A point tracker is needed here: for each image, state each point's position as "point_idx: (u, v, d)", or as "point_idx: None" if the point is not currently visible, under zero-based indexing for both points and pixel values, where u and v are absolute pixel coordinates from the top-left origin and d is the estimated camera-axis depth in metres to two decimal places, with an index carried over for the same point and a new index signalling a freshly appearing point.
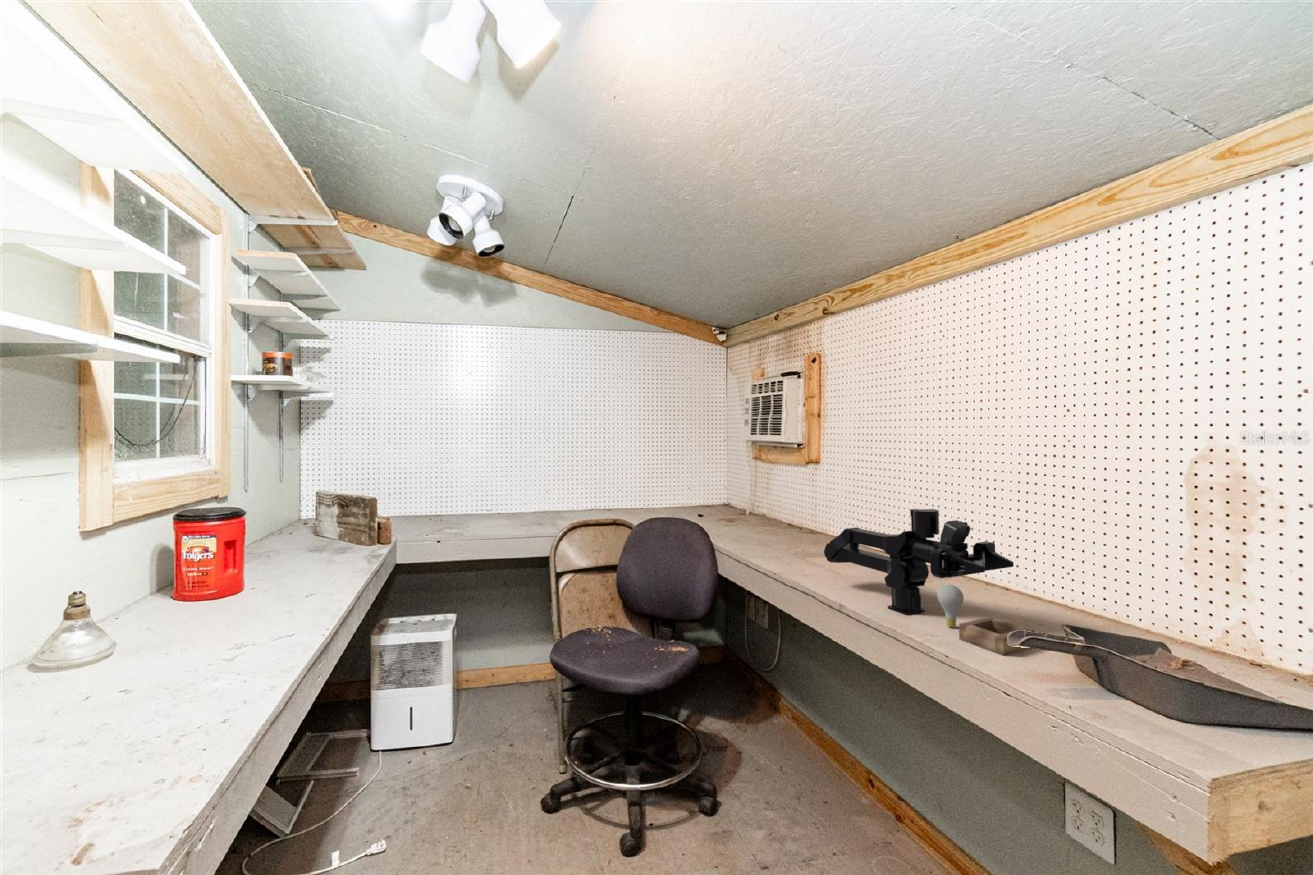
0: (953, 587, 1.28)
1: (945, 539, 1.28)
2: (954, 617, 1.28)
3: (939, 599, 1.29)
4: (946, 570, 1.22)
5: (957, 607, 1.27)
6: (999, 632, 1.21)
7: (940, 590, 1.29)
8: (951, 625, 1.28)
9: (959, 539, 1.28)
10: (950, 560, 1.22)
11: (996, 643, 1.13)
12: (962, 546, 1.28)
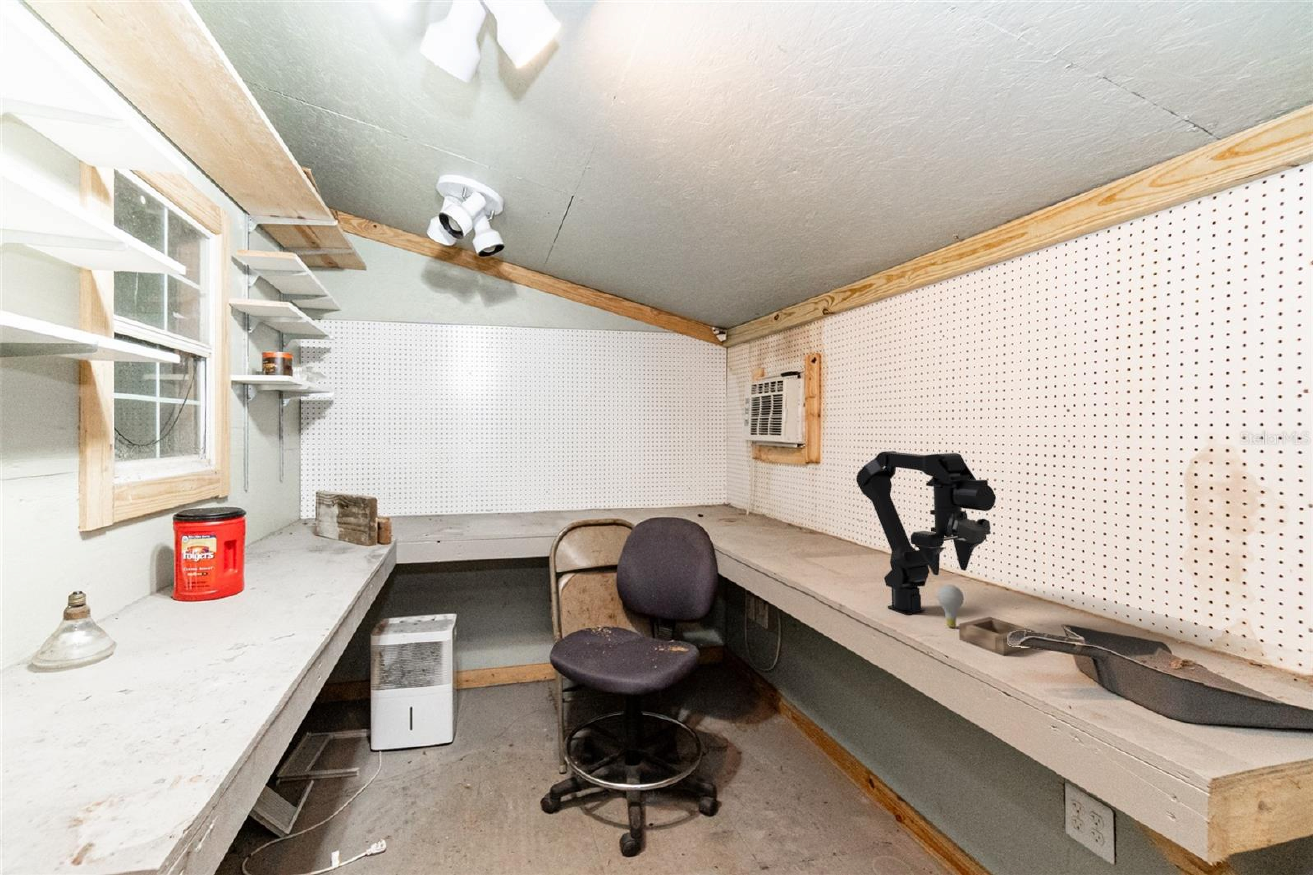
0: (953, 587, 1.28)
1: (957, 529, 1.24)
2: (954, 617, 1.28)
3: (939, 599, 1.29)
4: (920, 547, 1.27)
5: (957, 607, 1.27)
6: (999, 632, 1.21)
7: (940, 590, 1.29)
8: (951, 625, 1.28)
9: None
10: None
11: (996, 643, 1.13)
12: None
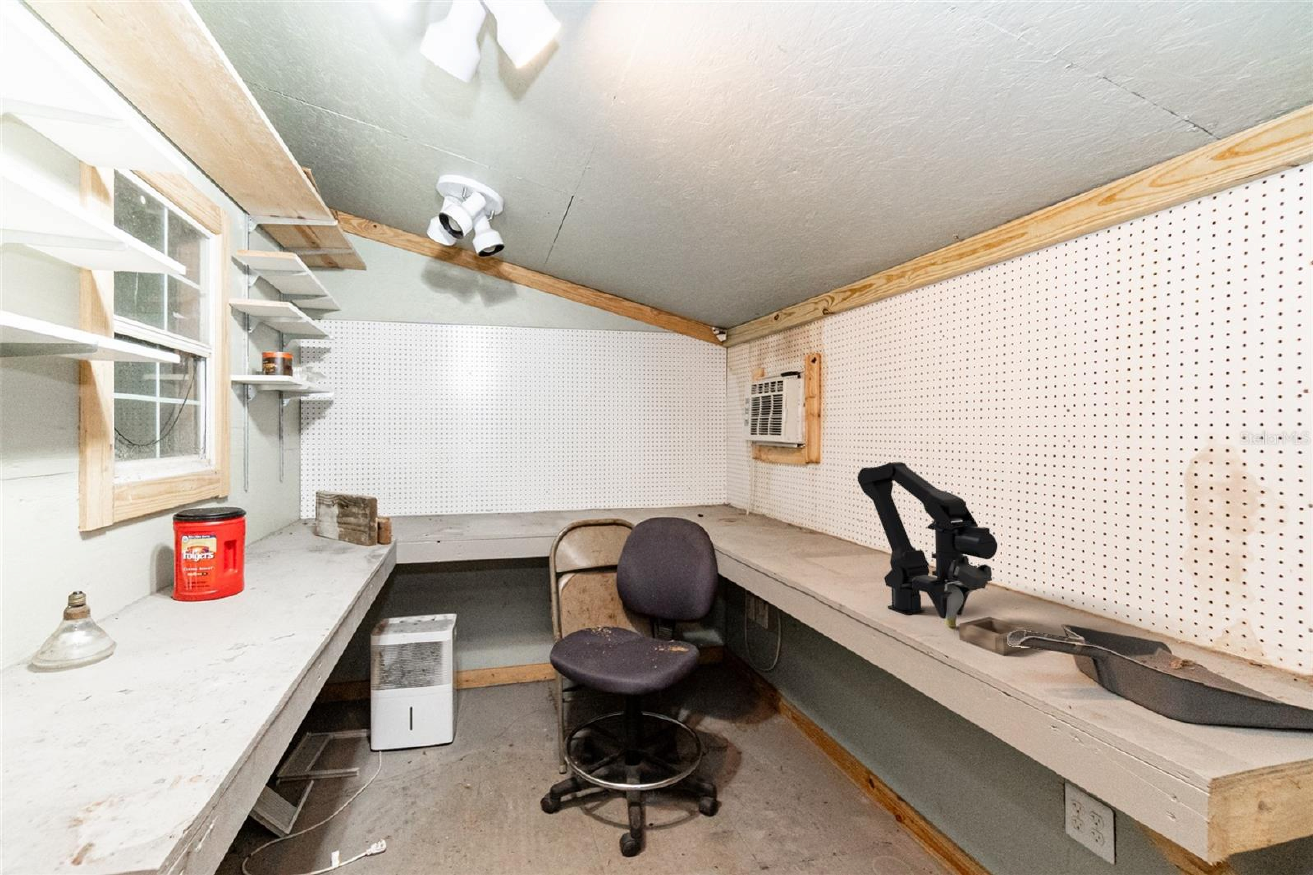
0: (953, 587, 1.28)
1: (958, 575, 1.24)
2: (954, 617, 1.28)
3: None
4: None
5: (957, 607, 1.27)
6: (999, 632, 1.21)
7: None
8: (951, 625, 1.28)
9: None
10: None
11: (996, 643, 1.13)
12: None
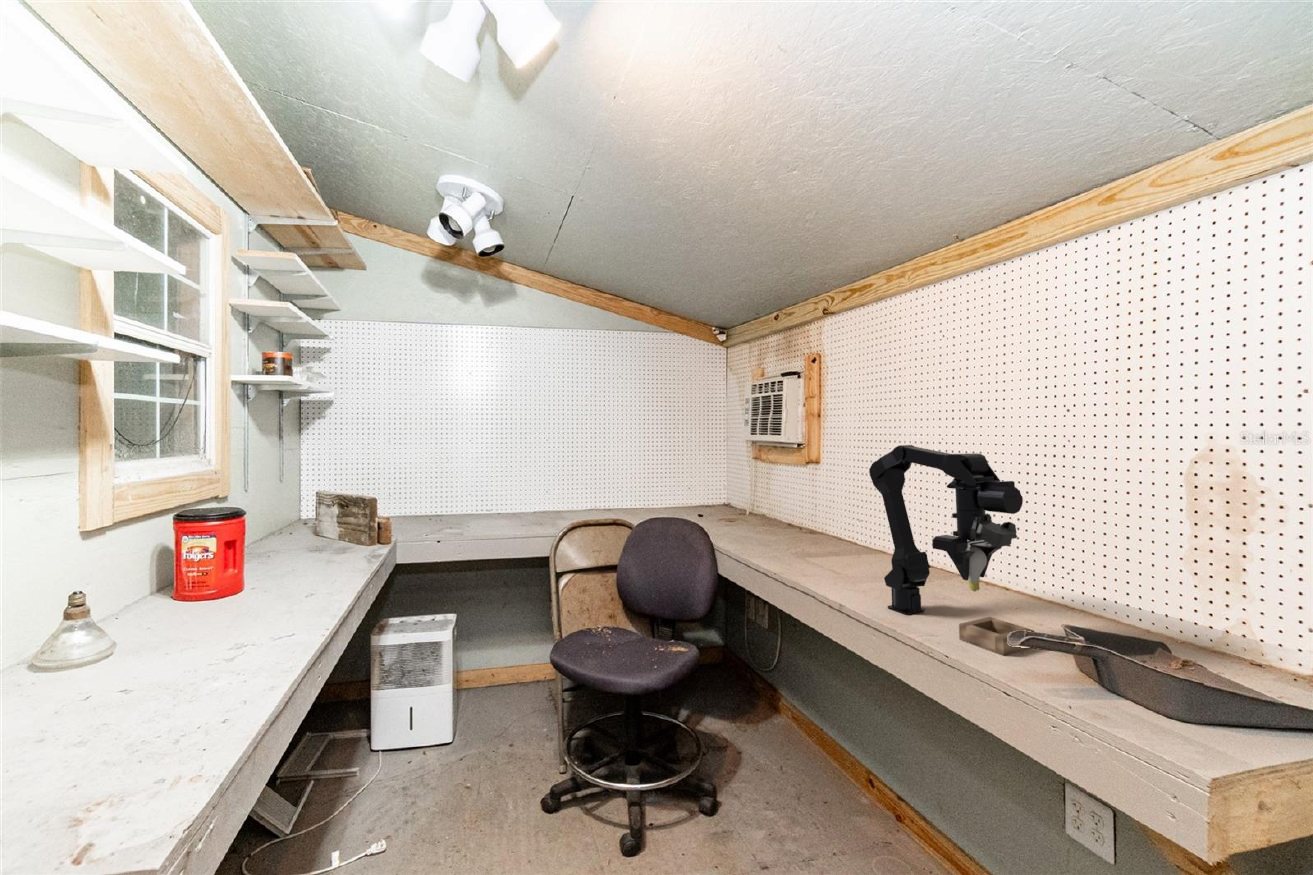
0: (975, 548, 1.22)
1: (982, 533, 1.18)
2: (977, 580, 1.22)
3: None
4: (948, 551, 1.22)
5: (980, 569, 1.21)
6: (999, 632, 1.21)
7: None
8: (974, 588, 1.22)
9: None
10: None
11: (996, 643, 1.13)
12: None
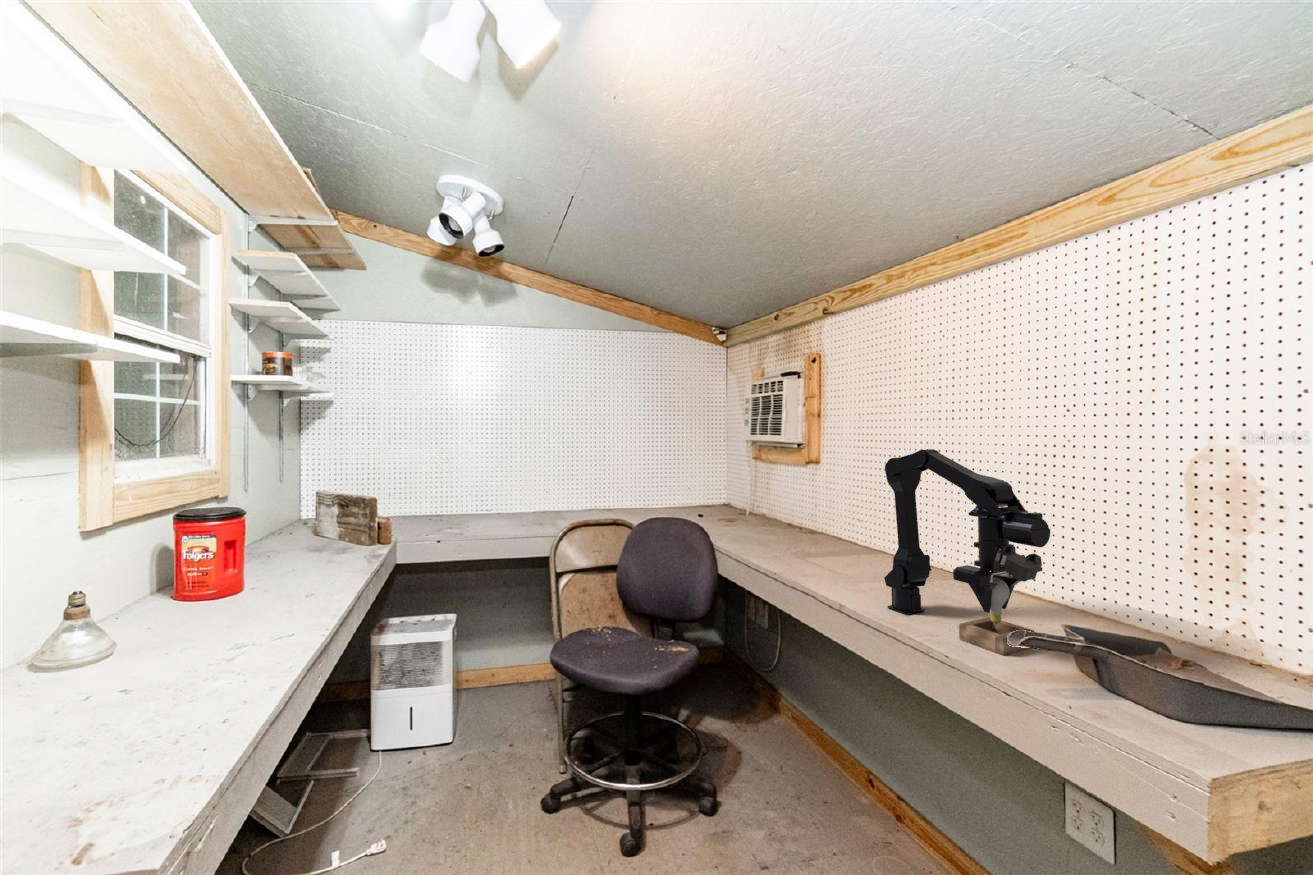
0: (998, 580, 1.18)
1: (1006, 565, 1.14)
2: (999, 612, 1.18)
3: None
4: None
5: (1003, 601, 1.17)
6: (999, 632, 1.21)
7: None
8: (996, 621, 1.18)
9: None
10: None
11: (996, 643, 1.13)
12: None
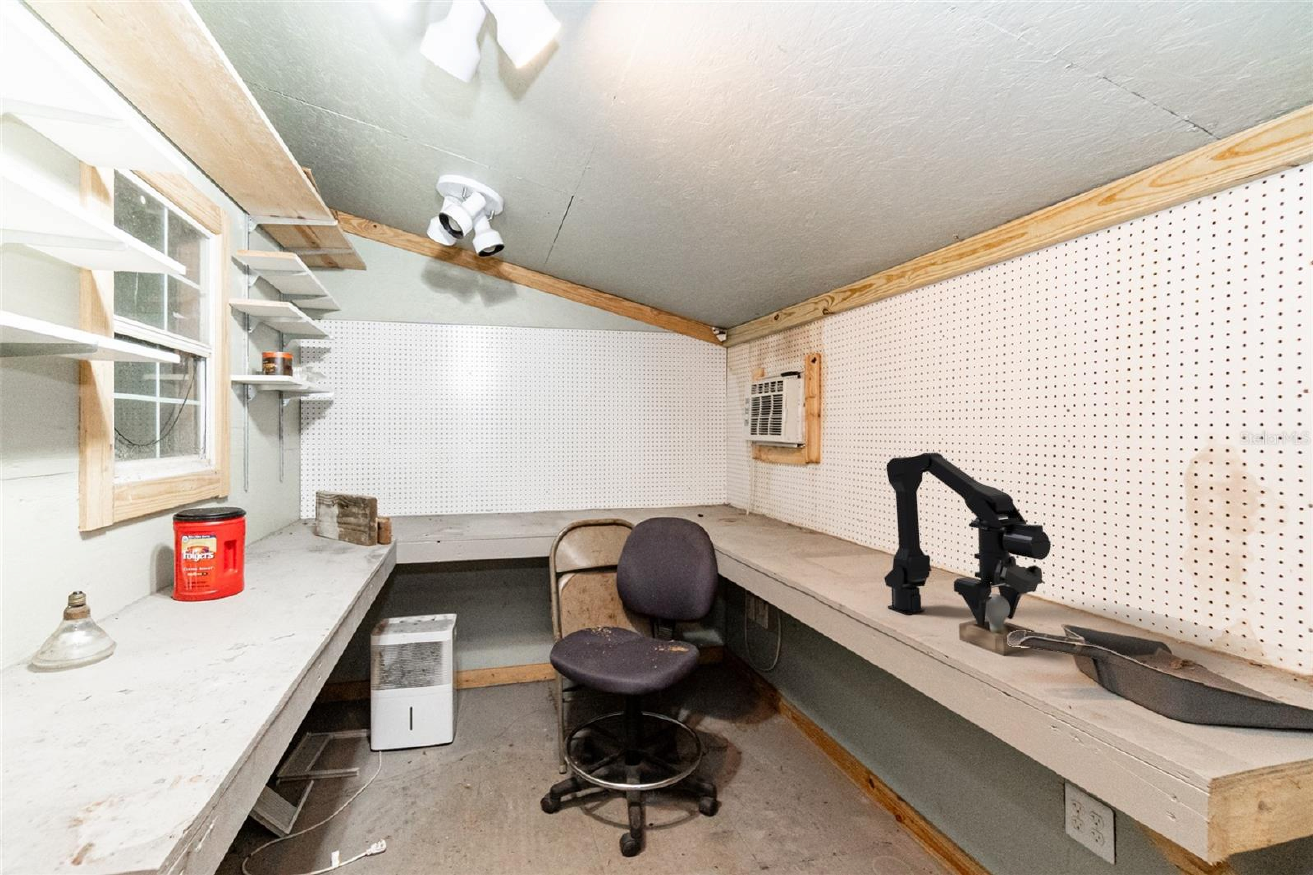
0: (998, 596, 1.18)
1: (1006, 577, 1.14)
2: (1000, 629, 1.18)
3: None
4: (964, 595, 1.17)
5: (1003, 618, 1.17)
6: None
7: None
8: None
9: None
10: None
11: (996, 643, 1.13)
12: None
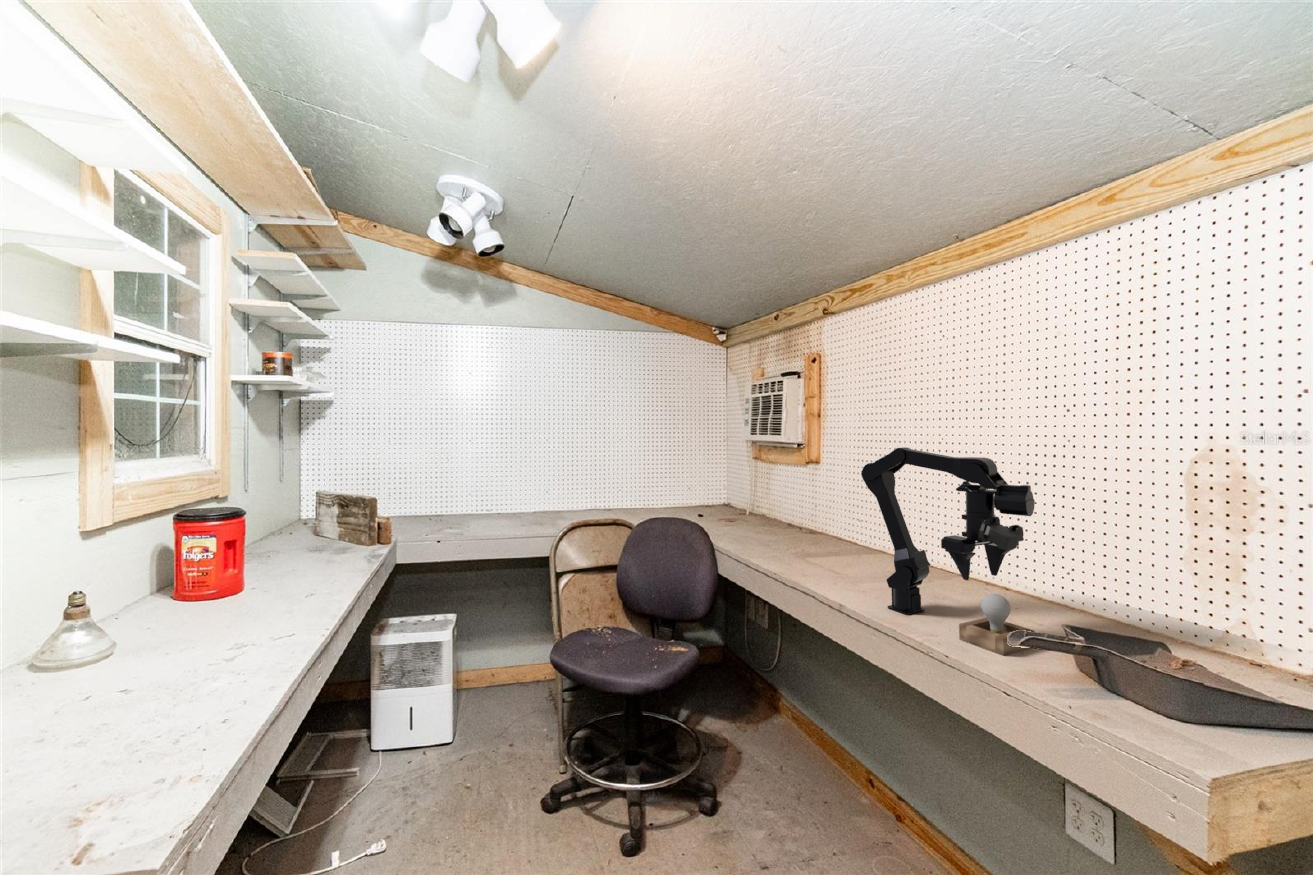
0: (999, 596, 1.18)
1: (989, 535, 1.23)
2: (1000, 629, 1.18)
3: (983, 609, 1.19)
4: (950, 551, 1.26)
5: (1004, 618, 1.17)
6: None
7: (984, 600, 1.19)
8: None
9: None
10: None
11: (996, 643, 1.13)
12: None
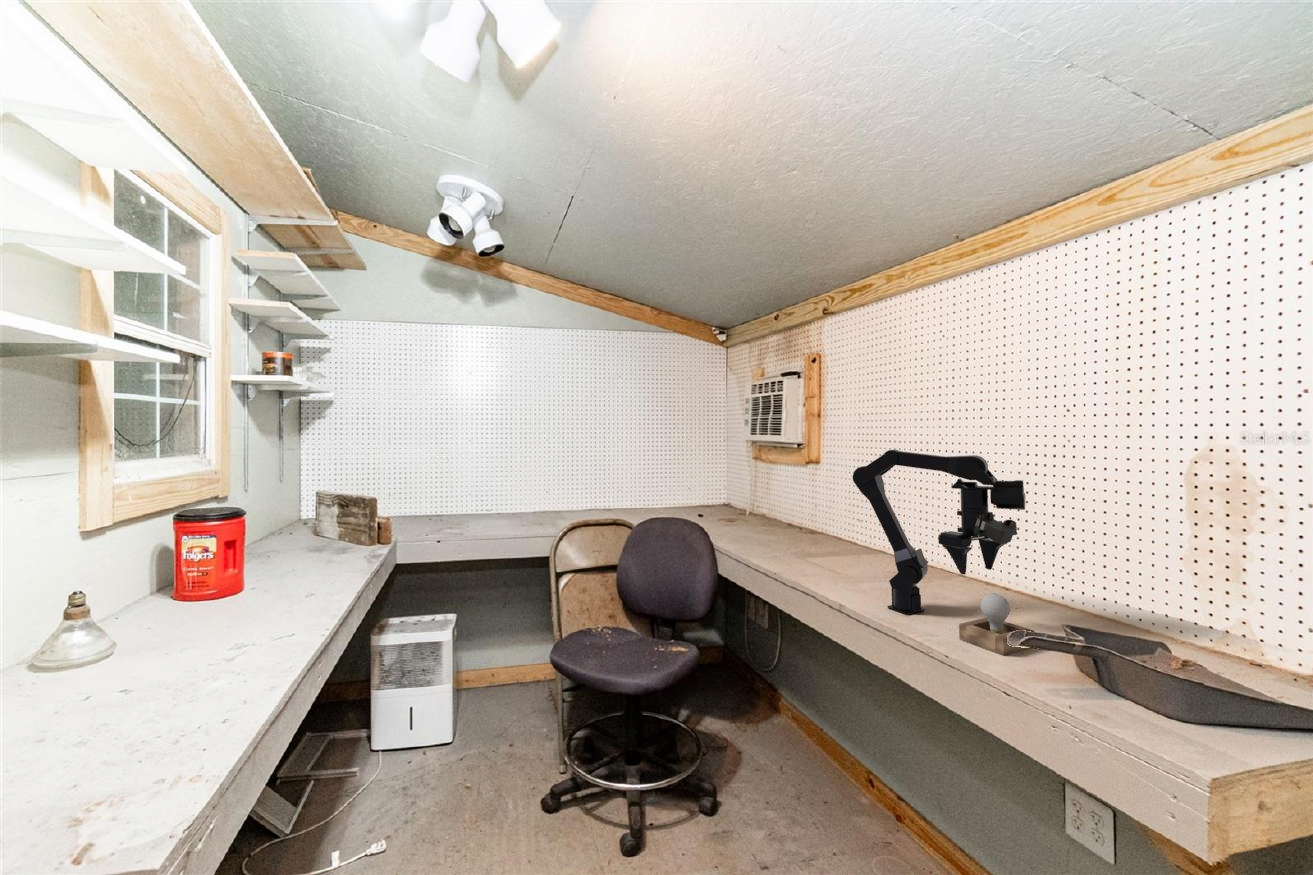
0: (998, 596, 1.18)
1: (984, 529, 1.27)
2: (1000, 629, 1.18)
3: (983, 609, 1.19)
4: (947, 547, 1.30)
5: (1003, 618, 1.17)
6: None
7: (984, 600, 1.19)
8: None
9: None
10: None
11: (996, 643, 1.13)
12: None
